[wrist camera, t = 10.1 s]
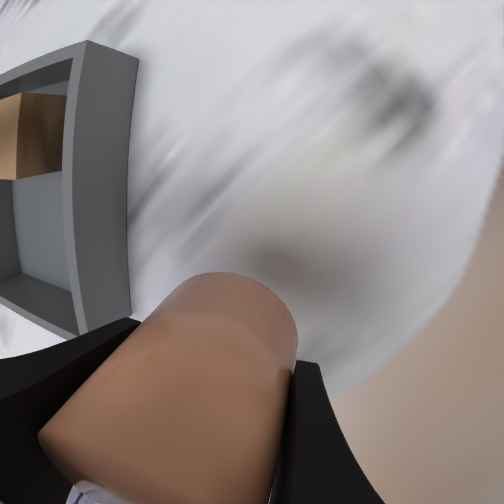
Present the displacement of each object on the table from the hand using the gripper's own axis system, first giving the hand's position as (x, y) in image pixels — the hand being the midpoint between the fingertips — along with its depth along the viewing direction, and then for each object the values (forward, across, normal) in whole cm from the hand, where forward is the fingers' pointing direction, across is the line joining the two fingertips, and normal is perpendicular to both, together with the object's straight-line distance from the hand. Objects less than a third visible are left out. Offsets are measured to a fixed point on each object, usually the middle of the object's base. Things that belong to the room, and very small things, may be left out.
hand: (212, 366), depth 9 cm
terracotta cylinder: (+2, 0, 0) cm, 2 cm away
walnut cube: (+8, +16, -7) cm, 19 cm away
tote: (+9, +16, -3) cm, 18 cm away
